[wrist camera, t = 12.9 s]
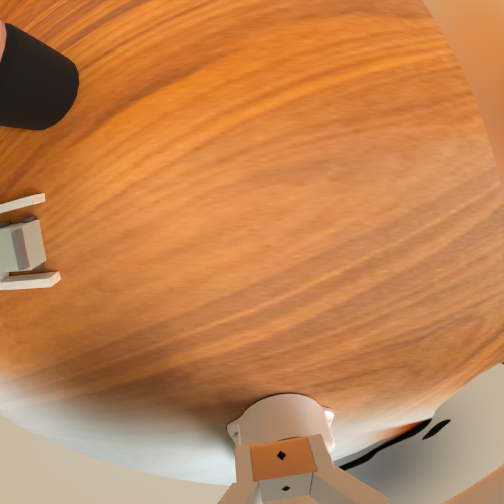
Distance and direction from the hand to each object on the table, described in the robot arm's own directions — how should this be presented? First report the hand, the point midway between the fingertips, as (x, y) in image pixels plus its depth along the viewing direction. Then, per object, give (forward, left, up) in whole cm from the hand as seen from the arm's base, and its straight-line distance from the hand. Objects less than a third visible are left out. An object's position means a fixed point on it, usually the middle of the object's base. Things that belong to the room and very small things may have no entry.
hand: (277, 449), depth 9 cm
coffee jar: (+24, +24, -29) cm, 45 cm away
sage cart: (+4, +32, -29) cm, 43 cm away
